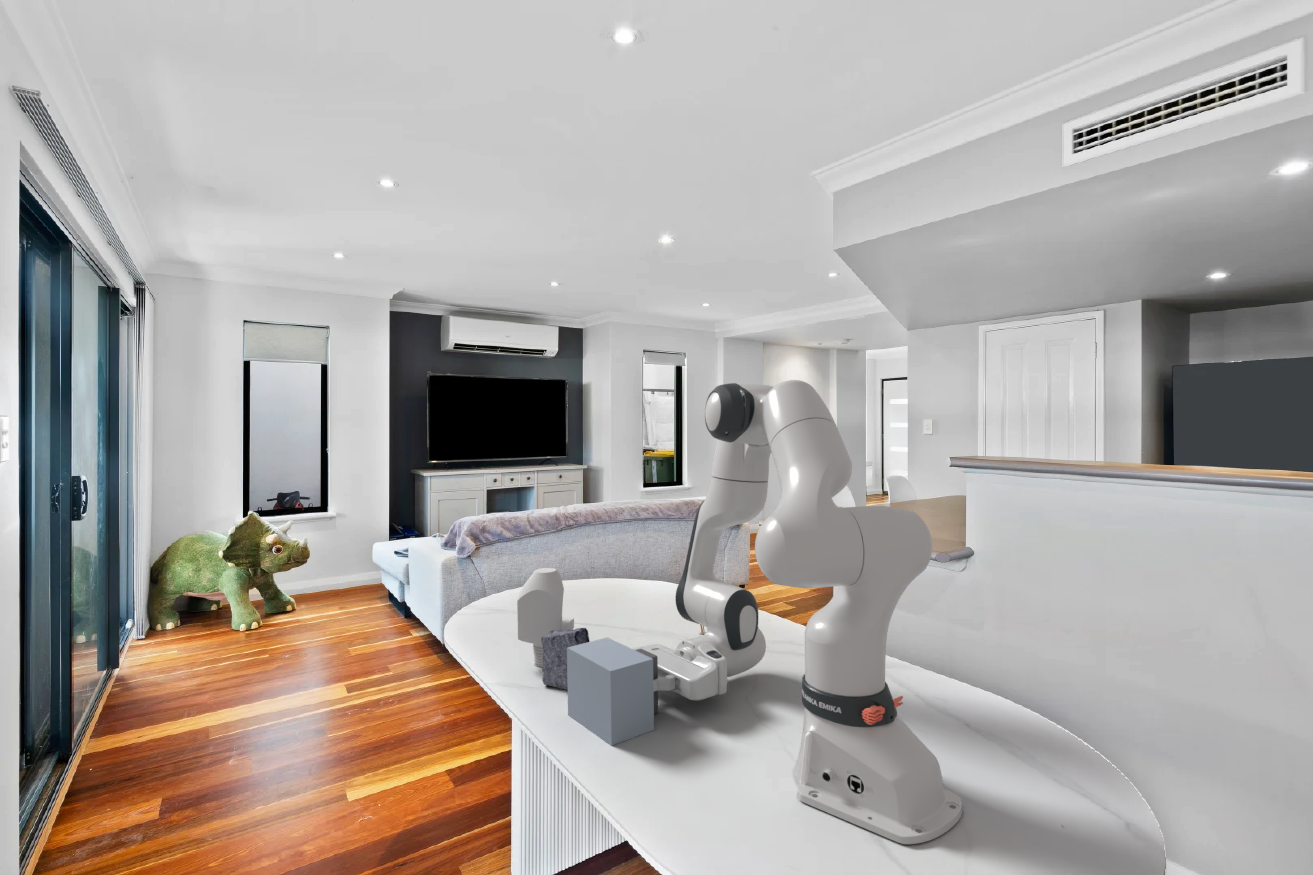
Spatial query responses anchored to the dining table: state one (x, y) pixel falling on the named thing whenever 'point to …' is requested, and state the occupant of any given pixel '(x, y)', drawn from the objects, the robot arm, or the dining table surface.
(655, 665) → the plug
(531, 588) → the light fixture
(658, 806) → the dining table surface
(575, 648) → the socket
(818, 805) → the robot arm
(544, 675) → the stone
